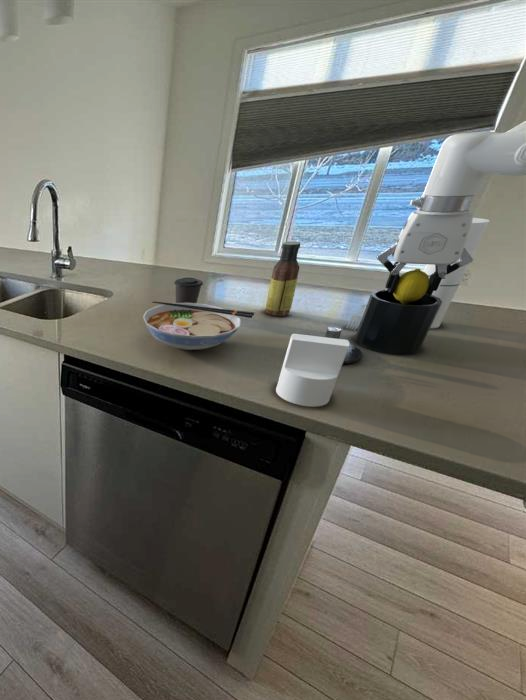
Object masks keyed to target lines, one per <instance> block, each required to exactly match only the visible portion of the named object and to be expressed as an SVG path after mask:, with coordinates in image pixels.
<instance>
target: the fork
mask: <svg viewBox="0 0 526 700" xmlns="http://www.w3.org/2000/svg"><path fill="white" fill-rule="evenodd" d="M366 306H367V304H366V305H365V306H364V308H363V310H362V311H361V313H360V314H356V313H353V314H352V315H351V317H350V319H349V321H348V324H347V326H346V327H345V328H346V329H348V330H350V329H351V331H356V329H358V328H359V325H360V322H361V319H362V317H363V314H364V311H365V309H366Z"/></svg>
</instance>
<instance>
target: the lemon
mask: <svg viewBox="0 0 526 700" xmlns="http://www.w3.org/2000/svg"><path fill="white" fill-rule="evenodd" d="M428 287H429V277H428V275H427V274H426V273H425V272H423V270H421V269H420V268H415V269H413V270H409V271H406V272H404V273H402V274H401V275H400V278H399V281H398V283H397V286H396V288H395V291H394V293H393V295H394V297H395V298H396V299H397V300H399V301H400V302H401V303H402V304H407V303H409V302H414V301H416V300H418V299H420V298H421V297H422V296H423V295H424V294H425V293H426V291H427V289H428Z"/></svg>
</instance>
